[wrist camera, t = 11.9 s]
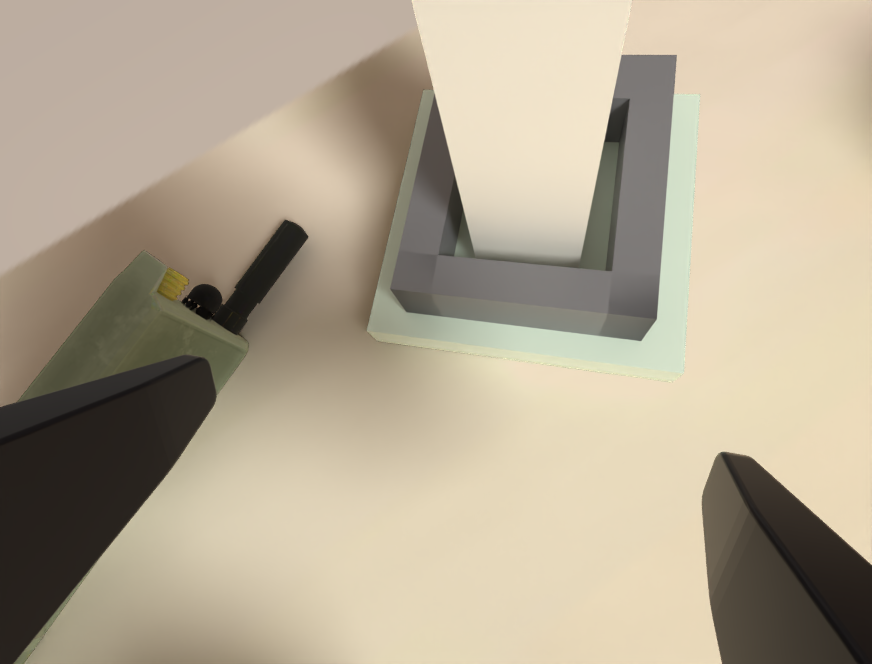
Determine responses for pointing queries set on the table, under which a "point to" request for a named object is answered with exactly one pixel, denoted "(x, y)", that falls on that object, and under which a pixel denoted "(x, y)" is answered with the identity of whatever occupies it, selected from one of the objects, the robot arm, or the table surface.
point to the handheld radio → (162, 328)
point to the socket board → (552, 285)
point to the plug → (524, 115)
